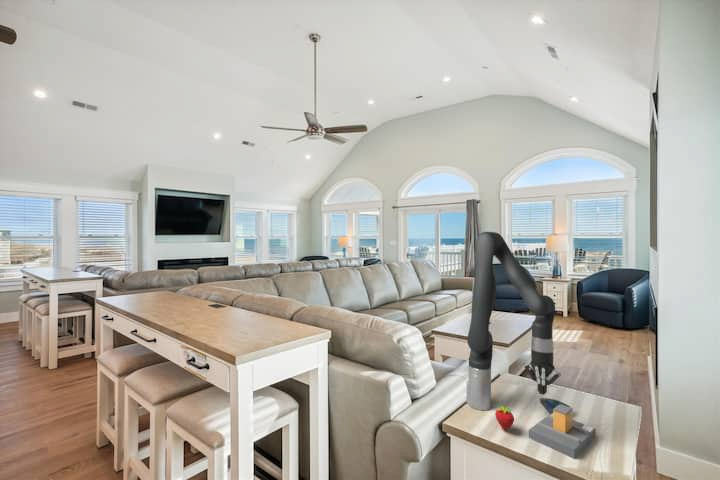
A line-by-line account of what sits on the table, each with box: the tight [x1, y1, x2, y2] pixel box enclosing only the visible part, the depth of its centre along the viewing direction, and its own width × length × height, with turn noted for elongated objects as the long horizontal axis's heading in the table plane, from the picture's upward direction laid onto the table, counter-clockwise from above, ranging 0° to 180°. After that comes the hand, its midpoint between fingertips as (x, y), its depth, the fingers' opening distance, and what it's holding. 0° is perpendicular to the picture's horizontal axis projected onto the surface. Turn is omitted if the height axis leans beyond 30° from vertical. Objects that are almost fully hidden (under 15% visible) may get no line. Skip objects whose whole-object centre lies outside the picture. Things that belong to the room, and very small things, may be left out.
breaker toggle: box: [553, 404, 573, 433], centre depth 128 cm, size 4×6×7 cm
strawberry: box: [495, 404, 515, 432], centre depth 133 cm, size 6×8×10 cm
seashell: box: [539, 397, 572, 414], centre depth 147 cm, size 6×9×10 cm
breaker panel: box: [528, 413, 597, 459], centre depth 128 cm, size 15×20×4 cm
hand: (542, 393), depth 134 cm, fingers closed
